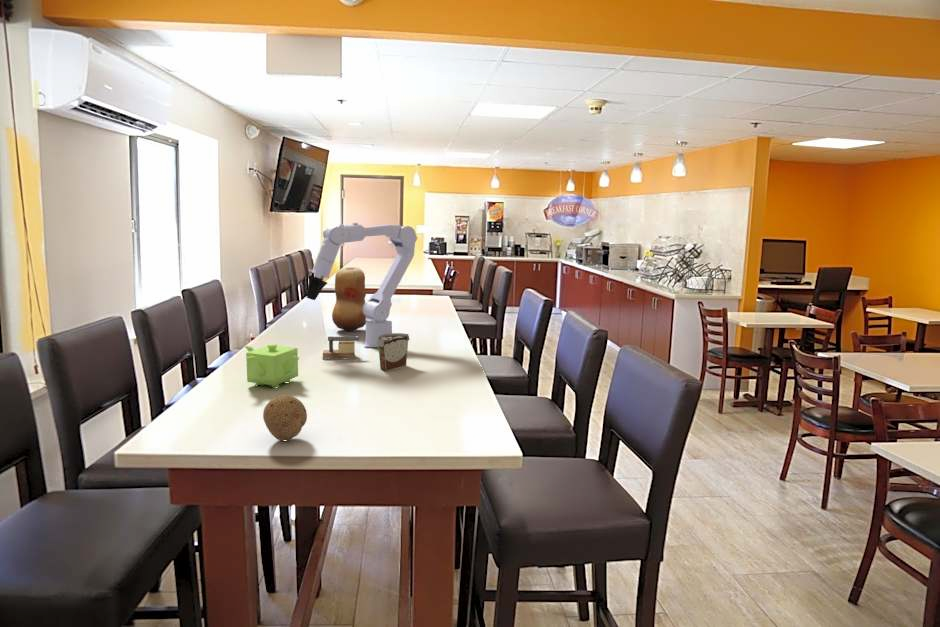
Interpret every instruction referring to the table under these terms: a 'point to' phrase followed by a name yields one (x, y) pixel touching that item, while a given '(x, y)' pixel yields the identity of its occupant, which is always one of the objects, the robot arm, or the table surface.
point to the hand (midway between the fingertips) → (310, 299)
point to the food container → (392, 350)
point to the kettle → (271, 364)
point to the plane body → (336, 353)
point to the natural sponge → (284, 417)
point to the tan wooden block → (346, 347)
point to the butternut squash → (349, 299)
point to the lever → (343, 338)
